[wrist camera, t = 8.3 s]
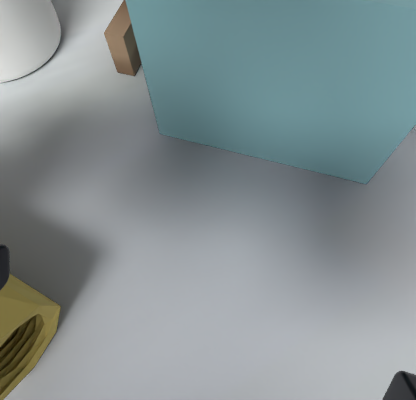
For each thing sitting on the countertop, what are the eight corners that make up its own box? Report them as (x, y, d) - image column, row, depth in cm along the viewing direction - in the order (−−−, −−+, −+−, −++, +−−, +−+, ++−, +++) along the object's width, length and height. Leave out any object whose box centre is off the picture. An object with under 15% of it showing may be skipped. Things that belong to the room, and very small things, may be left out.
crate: (365, 184, 19) (499, 22, 10) (160, 134, 21) (114, -41, 12) (381, 66, 23) (490, -132, 14) (204, 32, 24) (196, -163, 15)
